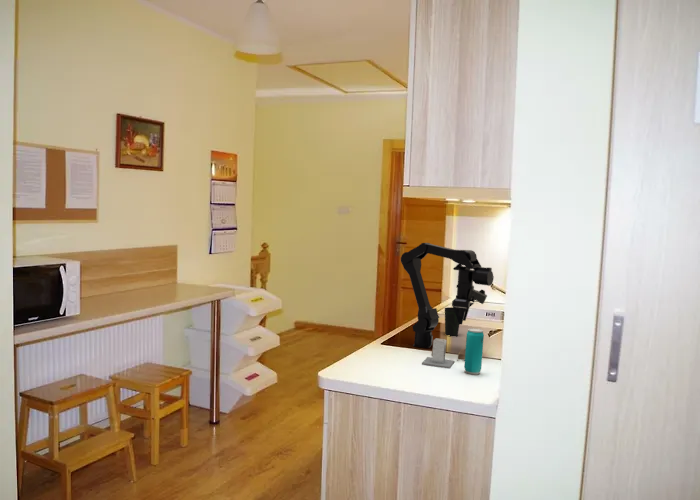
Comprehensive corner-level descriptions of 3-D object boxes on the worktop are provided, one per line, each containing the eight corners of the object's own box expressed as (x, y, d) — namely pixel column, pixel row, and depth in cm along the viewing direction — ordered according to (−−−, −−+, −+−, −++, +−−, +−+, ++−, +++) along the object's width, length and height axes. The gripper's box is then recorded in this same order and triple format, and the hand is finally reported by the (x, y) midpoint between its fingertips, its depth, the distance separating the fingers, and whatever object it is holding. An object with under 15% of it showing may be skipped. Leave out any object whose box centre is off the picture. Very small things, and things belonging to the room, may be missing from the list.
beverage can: (481, 371, 202) (485, 329, 201) (479, 376, 196) (483, 332, 195) (465, 369, 203) (468, 327, 202) (462, 373, 198) (465, 330, 197)
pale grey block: (431, 362, 209) (433, 340, 208) (434, 359, 212) (435, 338, 212) (442, 363, 207) (444, 341, 207) (445, 361, 211) (446, 339, 210)
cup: (462, 335, 262) (464, 309, 261) (456, 338, 256) (458, 311, 255) (446, 332, 266) (448, 306, 265) (440, 335, 260) (441, 308, 259)
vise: (431, 355, 221) (432, 350, 221) (436, 350, 230) (436, 345, 229) (478, 361, 215) (478, 356, 215) (481, 356, 224) (481, 351, 224)
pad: (421, 364, 207) (421, 362, 207) (427, 358, 216) (427, 356, 216) (449, 368, 203) (449, 366, 203) (454, 362, 213) (454, 360, 213)
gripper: (483, 287, 213) (480, 329, 214) (489, 282, 230) (486, 321, 231) (453, 284, 216) (450, 325, 217) (460, 279, 234) (458, 317, 235)
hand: (462, 322), depth 225 cm, fingers open, 9 cm apart
